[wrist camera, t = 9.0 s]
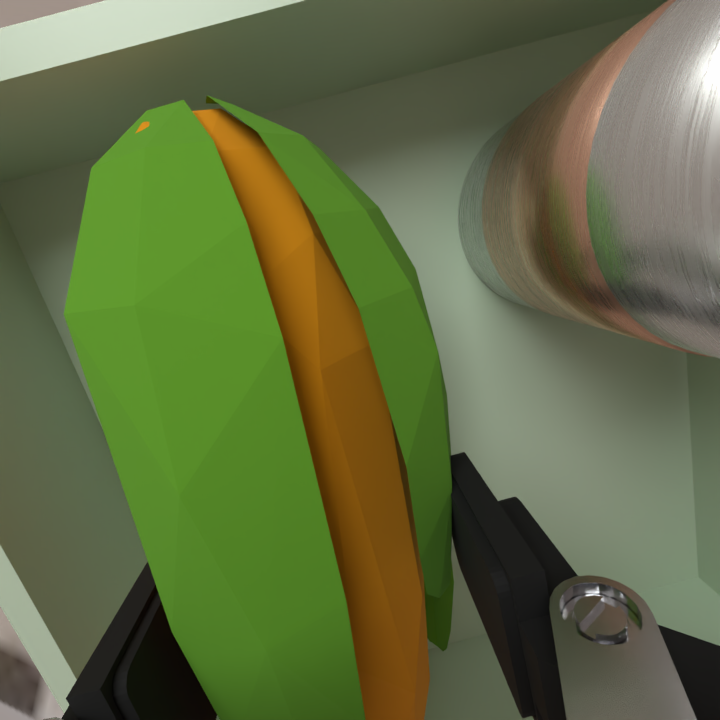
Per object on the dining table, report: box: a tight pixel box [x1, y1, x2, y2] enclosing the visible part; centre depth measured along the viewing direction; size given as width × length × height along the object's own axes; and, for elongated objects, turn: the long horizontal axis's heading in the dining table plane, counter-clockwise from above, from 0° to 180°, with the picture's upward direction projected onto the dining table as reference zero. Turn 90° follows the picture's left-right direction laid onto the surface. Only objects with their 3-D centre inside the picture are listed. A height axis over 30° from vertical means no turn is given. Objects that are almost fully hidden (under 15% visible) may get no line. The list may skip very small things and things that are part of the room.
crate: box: [0, 0, 720, 720], centre depth 14 cm, size 24×24×6 cm
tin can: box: [458, 0, 720, 359], centre depth 10 cm, size 7×7×10 cm
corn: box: [64, 95, 454, 720], centre depth 11 cm, size 7×8×20 cm
